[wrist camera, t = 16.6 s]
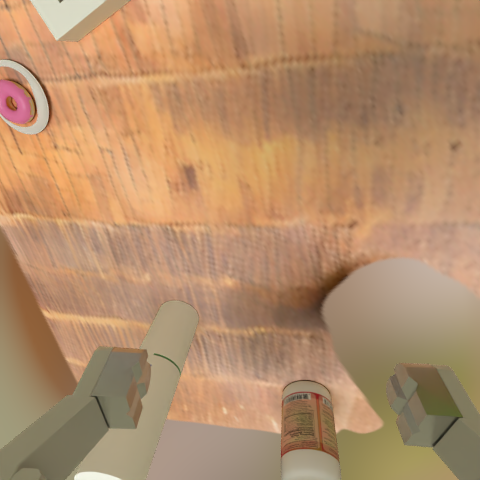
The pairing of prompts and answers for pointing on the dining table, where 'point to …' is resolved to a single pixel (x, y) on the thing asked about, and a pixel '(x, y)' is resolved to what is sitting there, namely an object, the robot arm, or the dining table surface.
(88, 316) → the dining table surface
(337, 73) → the dining table surface
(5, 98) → the donut
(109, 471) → the cylindrical container
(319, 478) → the fruit juice
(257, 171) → the dining table surface
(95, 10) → the socket rail
